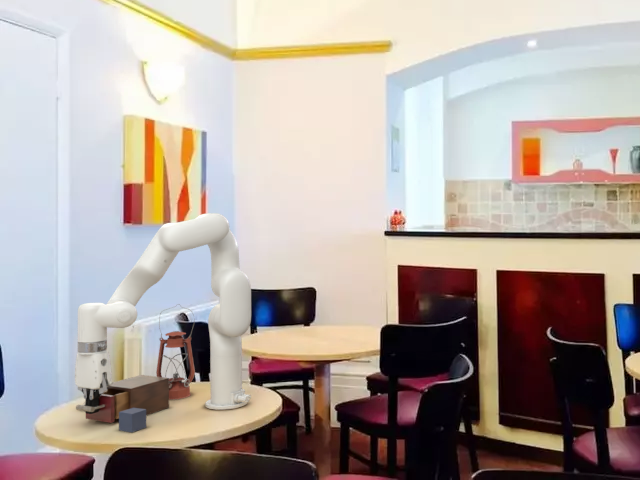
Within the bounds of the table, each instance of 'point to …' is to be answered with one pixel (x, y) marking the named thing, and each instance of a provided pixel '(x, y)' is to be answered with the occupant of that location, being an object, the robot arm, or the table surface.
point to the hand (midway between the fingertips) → (92, 412)
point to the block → (132, 419)
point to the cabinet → (145, 392)
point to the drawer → (108, 406)
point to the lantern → (175, 384)
